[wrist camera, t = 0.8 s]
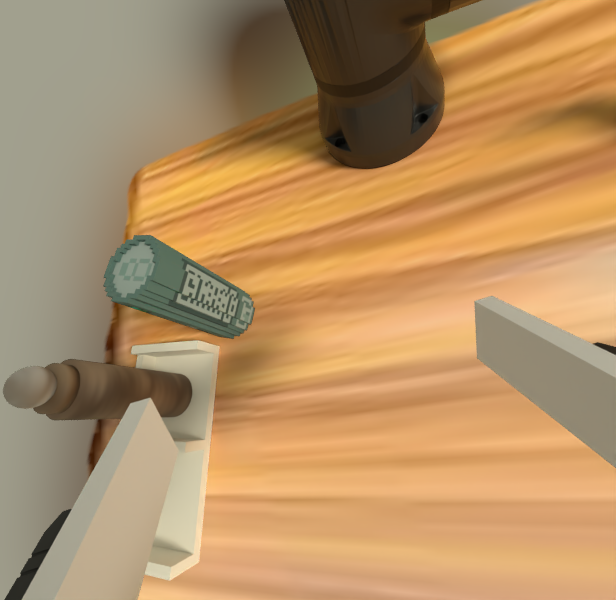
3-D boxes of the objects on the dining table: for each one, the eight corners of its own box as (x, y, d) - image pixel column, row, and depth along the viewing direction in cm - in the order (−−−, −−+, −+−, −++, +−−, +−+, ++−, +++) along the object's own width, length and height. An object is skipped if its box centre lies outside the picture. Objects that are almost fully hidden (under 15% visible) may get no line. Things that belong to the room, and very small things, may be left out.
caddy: (157, 351, 43) (132, 345, 40) (219, 346, 40) (198, 340, 36) (126, 546, 36) (92, 561, 32) (199, 562, 33) (169, 580, 29)
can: (219, 290, 42) (118, 235, 29) (258, 292, 40) (167, 234, 27) (207, 335, 41) (95, 299, 28) (247, 340, 38) (145, 304, 25)
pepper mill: (162, 374, 40) (-3, 353, 25) (194, 373, 39) (37, 349, 24) (156, 416, 39) (-24, 421, 24) (189, 417, 37) (17, 422, 22)
